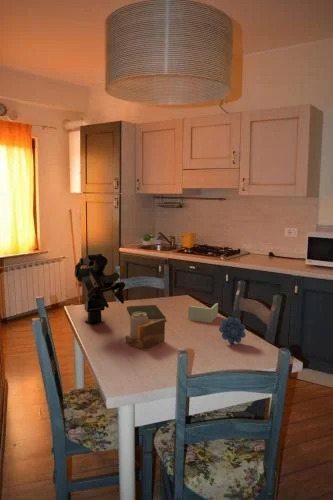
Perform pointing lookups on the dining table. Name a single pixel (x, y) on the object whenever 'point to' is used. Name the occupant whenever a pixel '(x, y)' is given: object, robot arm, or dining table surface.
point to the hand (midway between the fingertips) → (115, 305)
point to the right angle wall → (203, 313)
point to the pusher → (141, 331)
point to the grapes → (232, 330)
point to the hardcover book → (147, 312)
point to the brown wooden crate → (149, 335)
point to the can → (137, 322)
